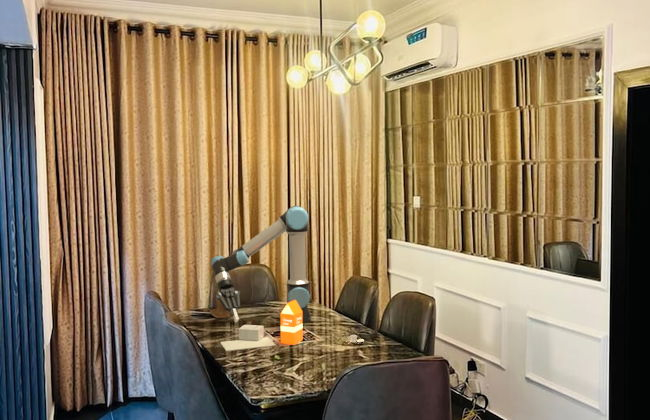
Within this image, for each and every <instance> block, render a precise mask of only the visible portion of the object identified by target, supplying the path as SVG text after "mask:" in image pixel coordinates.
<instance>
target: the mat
mask: <svg viewBox="0 0 650 420" xmlns="http://www.w3.org/2000/svg"><path fill="white" fill-rule="evenodd" d="M219 343H220V345H221V346H222V347H223V349H224V350H225V352H232V351H239V350H240V351H241V350H243V351H244V350H250V349H260V348H267V347H269V348H271V347H276V346H277V344H276V343H275V342H274V341H273V340H272V339H271V338H270V337H269V336H263V337H262V338H261V339H260V340H259V341H253V340H239V339H235V340H227V341H226V340H225V341H220V342H219Z"/></svg>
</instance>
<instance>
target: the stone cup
mask: <svg viewBox="0 0 650 420" xmlns="http://www.w3.org/2000/svg"><path fill="white" fill-rule="evenodd" d="M217 293H219V290H218V291H217ZM217 293H216V294H217ZM222 297H223V296H222ZM223 299H224V300H225V298H224V297H223ZM215 300H216V301H215V302H216V308H213V309H210V310H209V313H210V314H211V315H212V316H213V317H215V318H217V319H228V318H230V317H232V316H231V314H230V312H229V311H228V310H227V311H226V310H225V309H224V307H223V306H222V304H221V302H220V301H219V299H217V298H215ZM225 302H226V301H225ZM230 302H231V300H230ZM226 304H227V303H226Z"/></svg>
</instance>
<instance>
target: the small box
mask: <svg viewBox="0 0 650 420" xmlns="http://www.w3.org/2000/svg"><path fill="white" fill-rule="evenodd" d="M264 329H265V326H264V325H258V324H257V325H255V324H243V325H242V326H241V327H239V328H238V340H253V341H259V340H260V339H261V338H262V337H265V336H264V335H265V331H264Z"/></svg>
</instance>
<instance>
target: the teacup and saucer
mask: <svg viewBox="0 0 650 420" xmlns="http://www.w3.org/2000/svg"><path fill="white" fill-rule="evenodd" d="M349 338H350V340H349ZM357 338H358V336H357V335H356V334H351V335H349V336H348V337H347V340H348V341H350V342H349V343H351V342H356V341H357V342H363V343H364V342H365V340H364V339H363V338H359V339H357ZM357 342H356V343H357Z"/></svg>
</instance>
